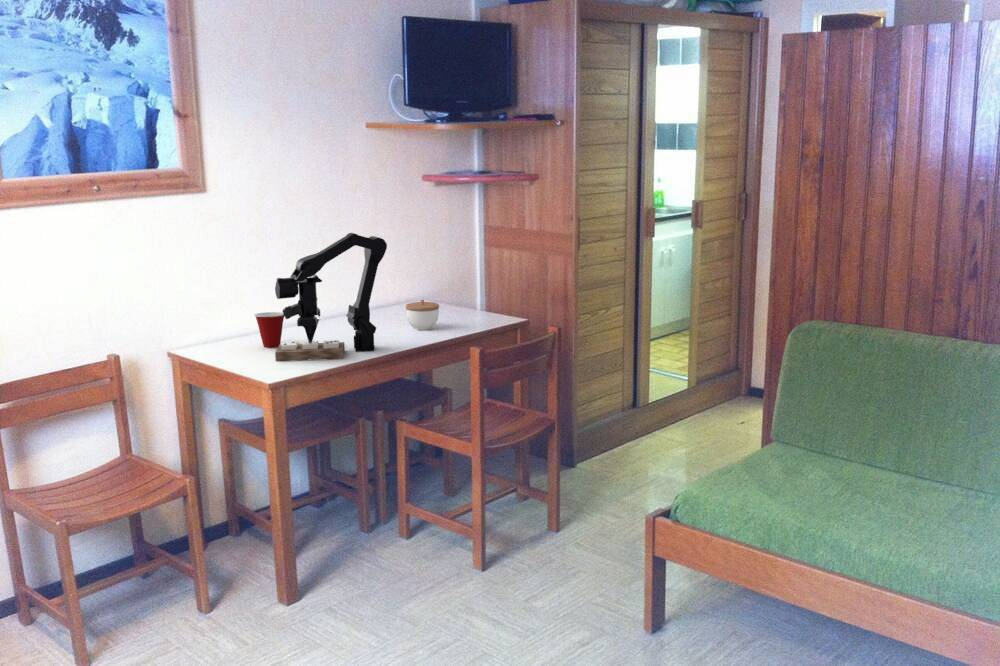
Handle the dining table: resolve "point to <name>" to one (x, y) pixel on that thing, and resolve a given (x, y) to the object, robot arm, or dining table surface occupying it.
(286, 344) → the two dot key
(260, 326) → the plastic cup
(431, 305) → the lidded bowl
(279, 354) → the key panel
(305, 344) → the one dot key
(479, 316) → the dining table surface
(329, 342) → the three dot key
